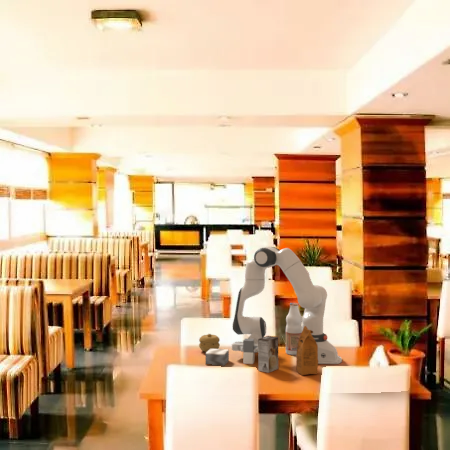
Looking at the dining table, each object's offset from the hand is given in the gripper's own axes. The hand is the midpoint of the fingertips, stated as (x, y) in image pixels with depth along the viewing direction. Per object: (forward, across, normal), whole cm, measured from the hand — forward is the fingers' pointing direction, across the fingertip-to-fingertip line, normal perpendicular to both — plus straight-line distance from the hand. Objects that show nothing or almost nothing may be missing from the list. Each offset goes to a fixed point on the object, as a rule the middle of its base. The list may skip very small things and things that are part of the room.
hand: (248, 350), depth 292 cm
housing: (-1, 0, +6) cm, 7 cm away
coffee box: (+10, +12, +7) cm, 17 cm away
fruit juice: (-26, +21, +7) cm, 34 cm away
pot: (-19, -26, +7) cm, 33 cm away
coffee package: (+10, +31, +7) cm, 33 cm away
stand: (+3, -16, +6) cm, 18 cm away
